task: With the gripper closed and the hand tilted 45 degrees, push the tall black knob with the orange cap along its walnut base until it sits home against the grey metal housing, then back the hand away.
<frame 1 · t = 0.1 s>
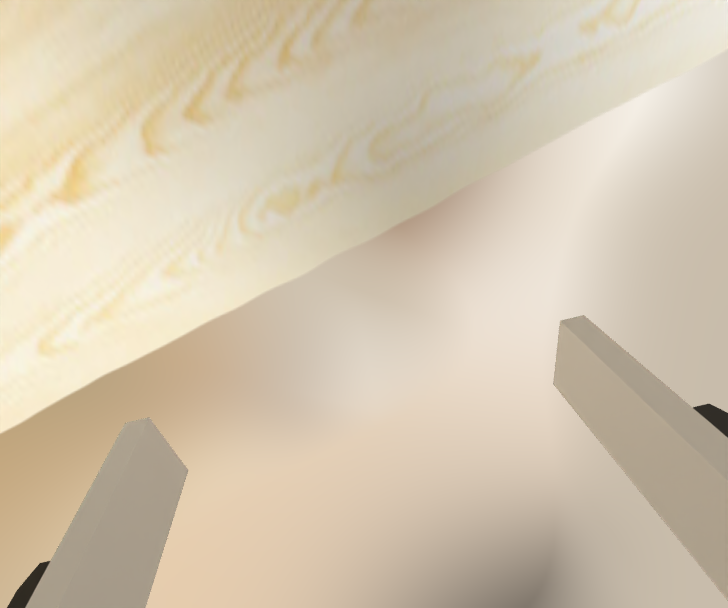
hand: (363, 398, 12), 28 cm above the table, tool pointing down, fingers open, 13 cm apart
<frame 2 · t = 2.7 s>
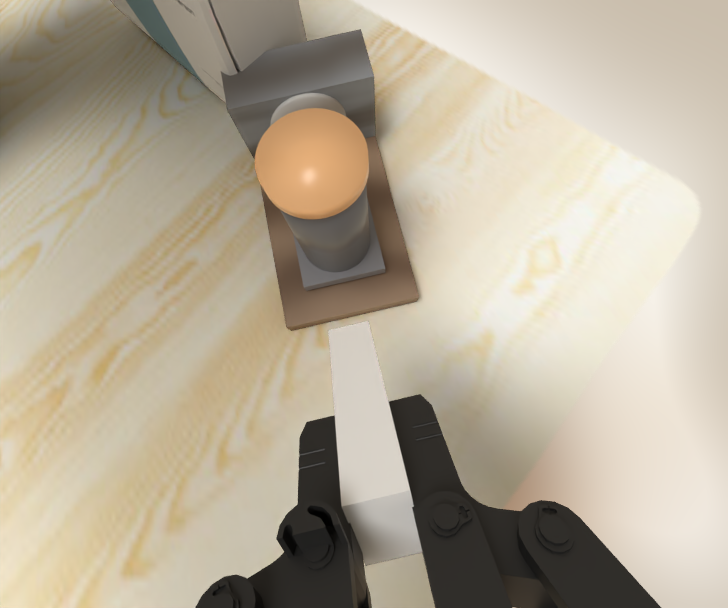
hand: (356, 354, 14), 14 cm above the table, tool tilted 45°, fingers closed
stereo radio cassette player: (222, 55, 35), on the table, touching knob mount
knob: (327, 211, 23), point 7 cm above the table, slide at 5.0 cm
knob mount: (330, 212, 31), on the table
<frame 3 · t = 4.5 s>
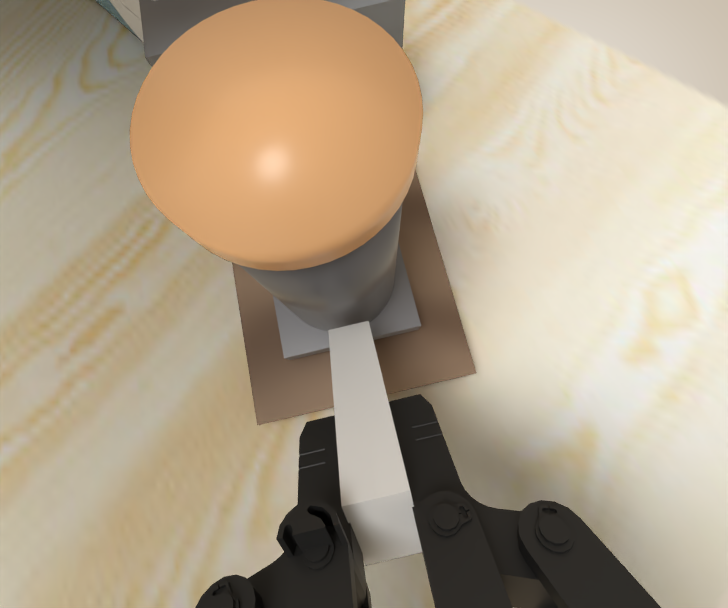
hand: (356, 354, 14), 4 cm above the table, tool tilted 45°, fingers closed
stereo radio cassette player: (173, 3, 24), on the table, touching knob mount
knob: (321, 235, 12), point 7 cm above the table, slide at 4.8 cm, touching gripper
knob mount: (330, 230, 20), on the table
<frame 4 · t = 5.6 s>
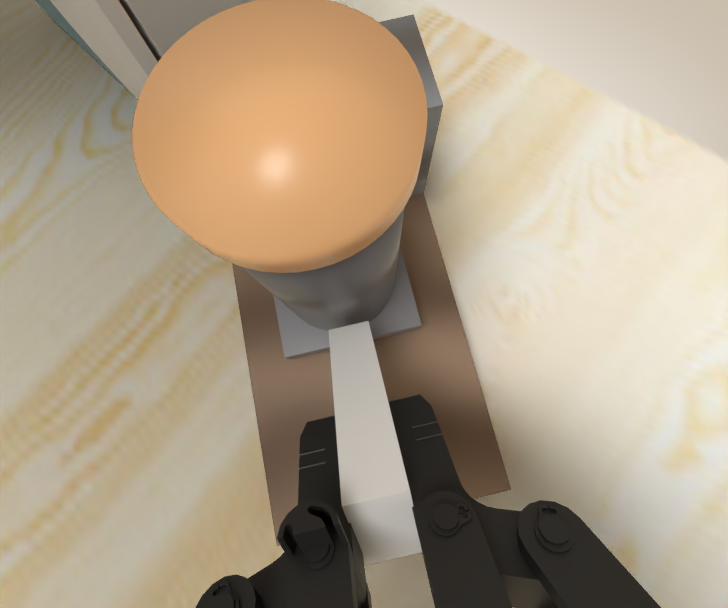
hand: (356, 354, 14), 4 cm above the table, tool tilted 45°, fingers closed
stereo radio cassette player: (180, 60, 23), on the table, touching knob mount
knob: (323, 235, 12), point 7 cm above the table, slide at -0.1 cm, touching gripper
knob mount: (350, 317, 19), on the table
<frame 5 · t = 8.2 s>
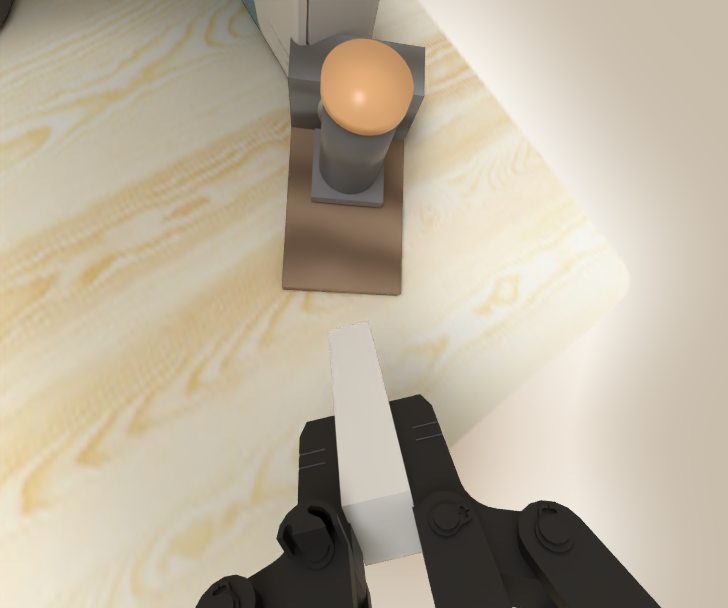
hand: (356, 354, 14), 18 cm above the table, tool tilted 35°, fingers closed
stereo radio cassette player: (281, 3, 35), on the table, touching knob mount
knob: (355, 135, 27), point 7 cm above the table, slide at 0.0 cm
knob mount: (345, 194, 34), on the table
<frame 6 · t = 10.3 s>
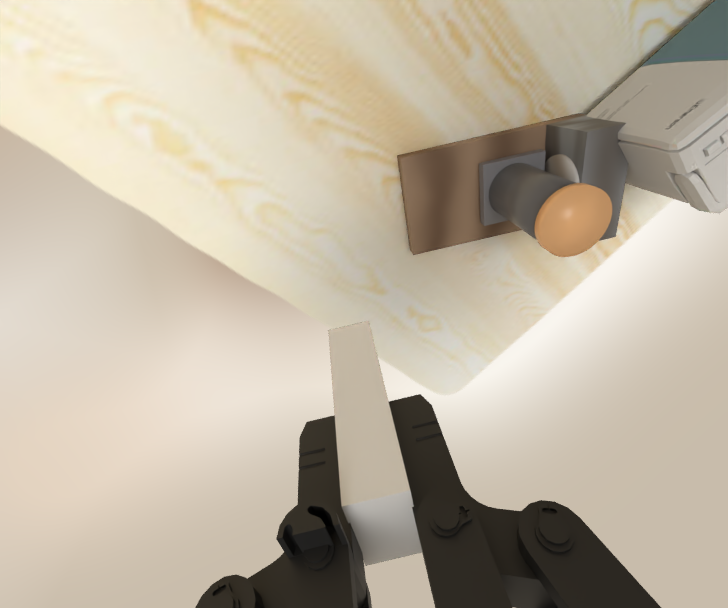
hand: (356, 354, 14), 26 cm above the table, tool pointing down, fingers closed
stereo radio cassette player: (674, 72, 35), on the table, touching knob mount
knob: (538, 202, 32), point 7 cm above the table, slide at 0.0 cm
knob mount: (488, 186, 39), on the table
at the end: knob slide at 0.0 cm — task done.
